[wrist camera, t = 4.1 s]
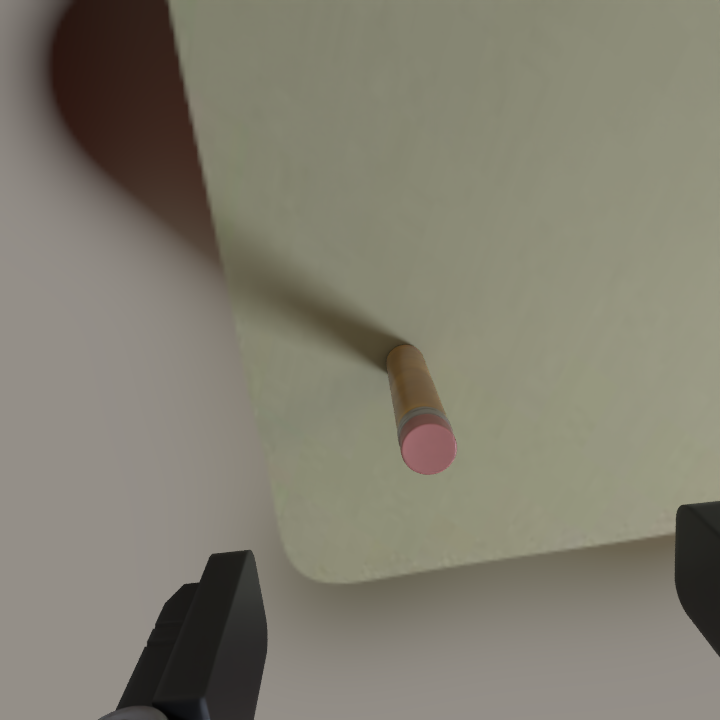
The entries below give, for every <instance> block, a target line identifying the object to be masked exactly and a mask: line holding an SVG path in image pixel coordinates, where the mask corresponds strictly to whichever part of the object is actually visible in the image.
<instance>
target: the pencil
mask: <svg viewBox="0 0 720 720" xmlns="http://www.w3.org/2000/svg"><path fill="white" fill-rule="evenodd" d="M386 366H387V372H388V378H389V384H390V390H391V396H392V402H393V408H394V413H395V419H396V425H397V435H398V441H399V446H400V449H401V455H402V458H403V460H404V462H405V463H406V465H407V466H408V467H409V468H410V469H412V470H413V471H415V472H417V473H420V474H426V475H430V474H436V473H439V472H441V471H443V470H445V469H446V468H447V467H449V466H450V464H451V463H452V462H453V460H454V458H455V456H456V452H457V443H456V439H455V437H454V434H453V430H452V427H451V425H450V422H449V420H448V418H447V417H446V414H445V411H444V409H443V406H442V404H441V401H440V399H439V396H438V394H437V391H436V388H435V386H434V383H433V381H432V378H431V376H430V373H429V371H428V368H427V366H426V363H425V360H424V358H423V355H422V354H421V352H420V351H419V350H418V349H417V348H416V347H414V346H411V345H400V346H397V347H395V348H394V349H393V350H392V351H391V352H390V353H389V355H388V357H387V360H386Z"/></svg>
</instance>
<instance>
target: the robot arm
mask: <svg viewBox="0 0 720 720" xmlns="http://www.w3.org/2000/svg"><path fill="white" fill-rule="evenodd" d="M675 585H676V590H677V594H678V597H679V600H680V602H681V605H682V606H683V609H684V610H685V612H686V614H687V615H688V616H689V618H690V619H691V620H692V622H693V623H694V624H695V625H696V627H697V628H698V629H699V631H700V632H701V633H702V635H703V636H704V637H705V638H706V640H707V641H708V642H709V644H710V645H711V646H712V648H713V649H714V650H715V651H716V653H717V654H718V655H719V657H720V501H715V502H706V503H696V504H687V505H681V506H680V507H679V508H678V510H677V514H676V544H675ZM266 654H267V623H266V616H265V610H264V605H263V600H262V594H261V589H260V584H259V578H258V573H257V568H256V562H255V558H254V555H253V553H252V551H251V550H244V551H235V552H226V553H217V554H212V555H211V556H210V557H209V560H208V563H207V565H206V567H205V570H204V572H203V575H202V578H201V580H200V582H199V583H191V584H184V585H183V586H182V587H181V588H180V589H179V590H178V591H177V592H176V593H175V594H174V595H173V596H172V597H171V598H170V599H169V600H168V601H167V602H166V603H165V605H164V606H163V609H162V611H161V613H160V615H159V617H158V619H157V622H156V624H155V629H153V630H152V632H151V635H150V637H149V639H148V641H147V647H145V648H144V650H143V652H142V655H141V657H140V658H139V661H138V663H137V665H136V667H135V670H134V671H133V674H132V676H131V678H130V680H129V682H128V684H127V687H126V689H125V691H124V693H123V696H122V698H121V700H120V702H119V704H118V706H117V708H116V710H115V711H114V712H111V713H109V714H107V715H105V716H103V717H101V718H100V719H98V720H254V715H255V710H256V705H257V700H258V695H259V690H260V685H261V680H262V674H263V669H264V664H265V659H266Z"/></svg>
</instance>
